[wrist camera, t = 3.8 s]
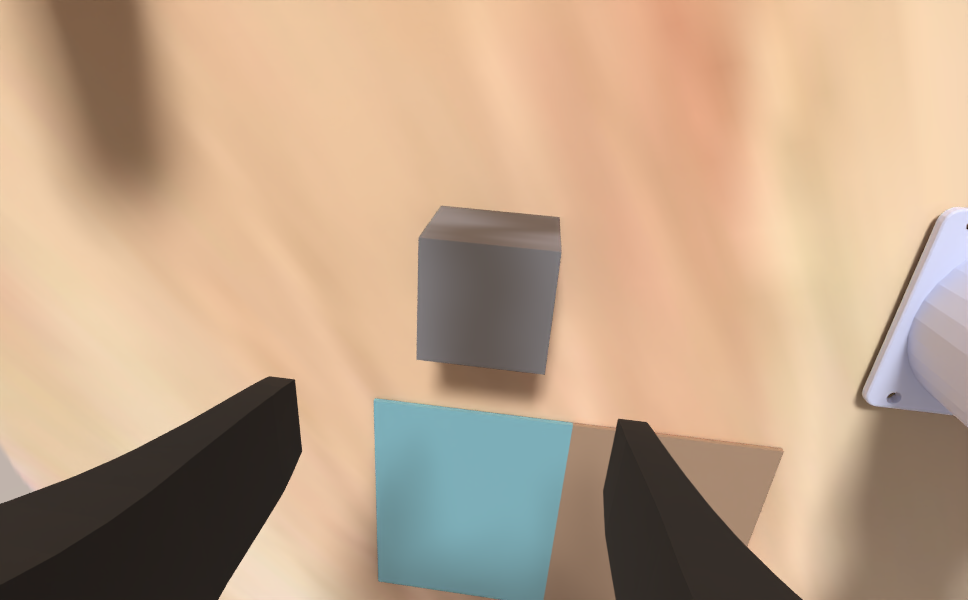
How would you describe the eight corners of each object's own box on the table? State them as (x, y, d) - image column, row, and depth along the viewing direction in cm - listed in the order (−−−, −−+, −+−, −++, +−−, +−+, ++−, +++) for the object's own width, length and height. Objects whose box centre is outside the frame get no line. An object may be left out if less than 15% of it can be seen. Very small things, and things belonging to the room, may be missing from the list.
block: (559, 216, 20) (561, 251, 17) (545, 322, 22) (544, 374, 19) (441, 205, 21) (418, 237, 17) (438, 310, 23) (416, 359, 19)
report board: (781, 448, 23) (783, 451, 23) (713, 627, 28) (714, 631, 28) (374, 398, 25) (373, 401, 24) (379, 578, 30) (378, 581, 30)
